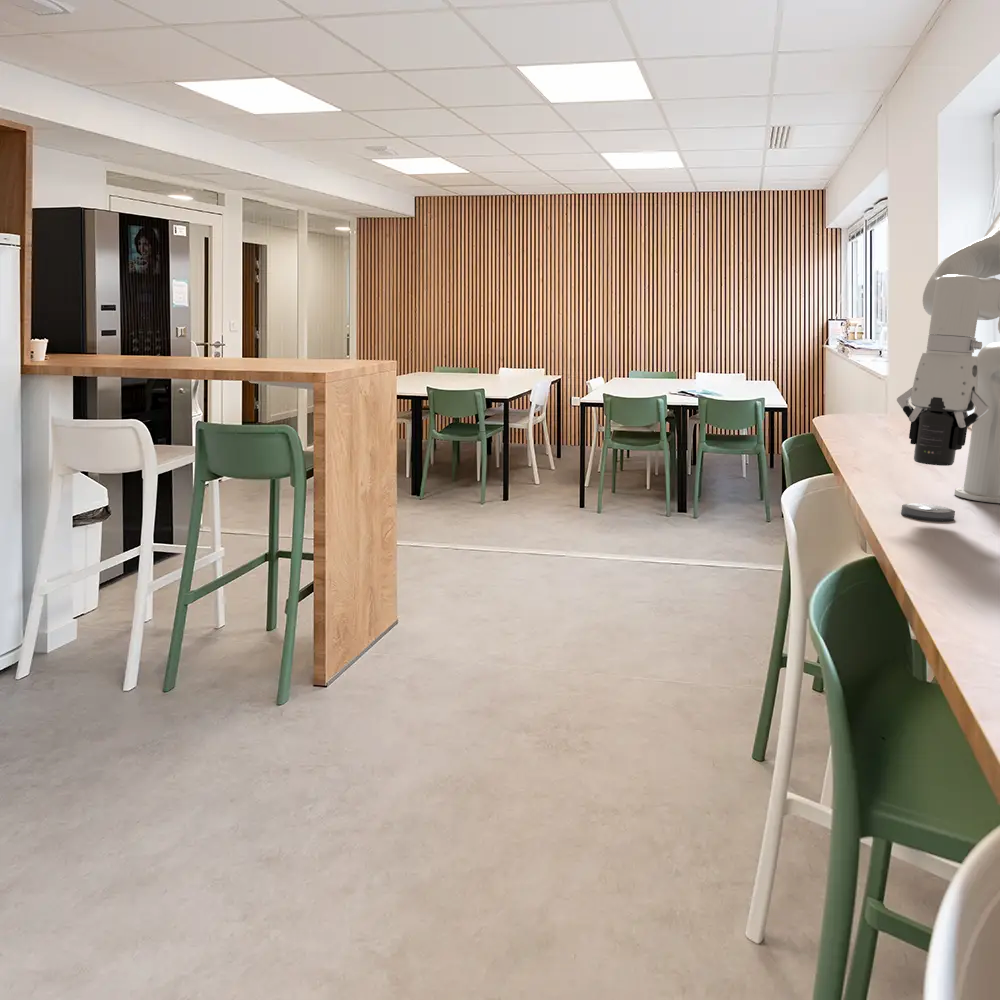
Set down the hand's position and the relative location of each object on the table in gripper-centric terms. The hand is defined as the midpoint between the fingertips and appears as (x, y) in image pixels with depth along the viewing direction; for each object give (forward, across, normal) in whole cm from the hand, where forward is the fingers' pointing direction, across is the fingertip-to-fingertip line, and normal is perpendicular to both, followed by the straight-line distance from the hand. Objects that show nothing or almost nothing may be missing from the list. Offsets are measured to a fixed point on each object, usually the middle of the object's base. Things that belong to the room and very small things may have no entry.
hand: (935, 445), depth 183 cm
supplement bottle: (+3, 0, 0) cm, 3 cm away
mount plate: (+13, 0, -1) cm, 13 cm away
